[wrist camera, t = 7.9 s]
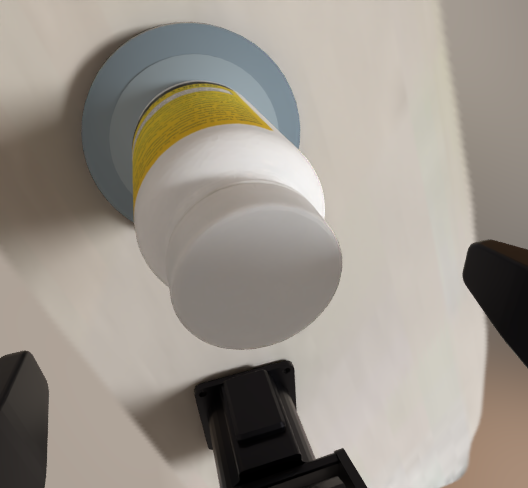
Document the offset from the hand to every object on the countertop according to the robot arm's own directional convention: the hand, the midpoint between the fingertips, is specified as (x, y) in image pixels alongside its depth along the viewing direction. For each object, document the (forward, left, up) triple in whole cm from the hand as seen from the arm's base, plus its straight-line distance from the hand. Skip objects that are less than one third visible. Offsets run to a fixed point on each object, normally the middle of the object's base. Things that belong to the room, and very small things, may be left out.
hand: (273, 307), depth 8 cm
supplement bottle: (0, 0, -11) cm, 11 cm away
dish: (0, 0, -12) cm, 12 cm away
